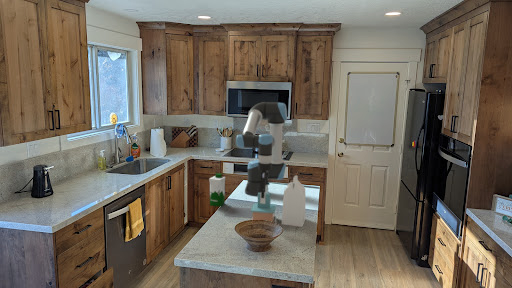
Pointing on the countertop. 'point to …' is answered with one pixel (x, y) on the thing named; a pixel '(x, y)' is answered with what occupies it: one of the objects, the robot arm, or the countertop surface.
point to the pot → (263, 216)
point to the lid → (264, 205)
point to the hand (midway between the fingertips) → (264, 199)
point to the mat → (239, 212)
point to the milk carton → (217, 190)
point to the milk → (294, 204)
